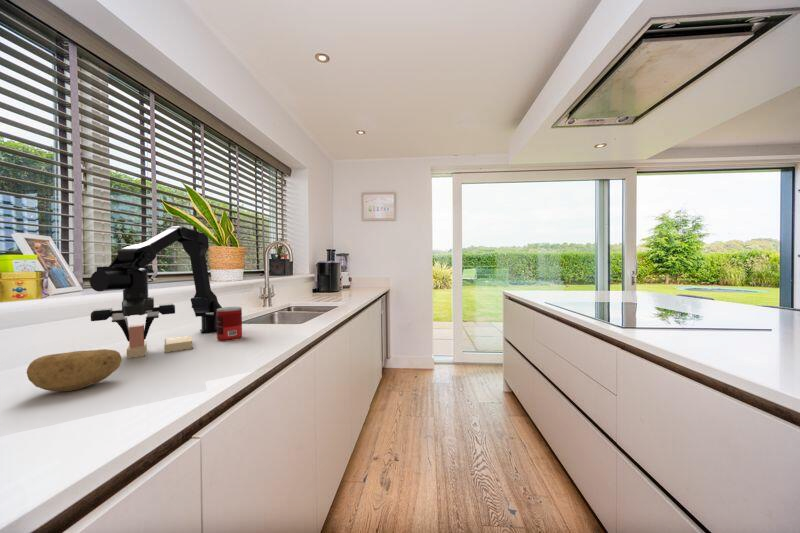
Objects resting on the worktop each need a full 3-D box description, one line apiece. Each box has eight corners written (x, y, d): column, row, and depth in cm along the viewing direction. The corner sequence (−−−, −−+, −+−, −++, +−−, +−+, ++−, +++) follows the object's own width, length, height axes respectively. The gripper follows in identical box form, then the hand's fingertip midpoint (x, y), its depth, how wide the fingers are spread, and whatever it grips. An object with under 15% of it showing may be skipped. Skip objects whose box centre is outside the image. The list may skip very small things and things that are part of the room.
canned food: (246, 336, 111) (246, 306, 111) (232, 341, 103) (232, 309, 103) (227, 335, 112) (226, 306, 112) (212, 341, 104) (211, 309, 104)
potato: (119, 386, 64) (118, 349, 64) (17, 405, 56) (16, 363, 56) (125, 374, 72) (125, 341, 72) (37, 389, 64) (36, 352, 64)
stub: (129, 351, 93) (129, 324, 93) (146, 348, 95) (146, 322, 95) (126, 358, 85) (126, 329, 85) (145, 355, 88) (144, 327, 88)
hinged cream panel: (164, 346, 98) (164, 338, 98) (190, 342, 103) (190, 334, 103) (164, 352, 90) (164, 344, 90) (192, 348, 95) (192, 340, 95)
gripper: (85, 292, 78) (87, 351, 78) (175, 287, 90) (176, 339, 90) (93, 290, 87) (95, 343, 87) (174, 286, 98) (175, 333, 99)
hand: (136, 340), depth 90 cm, fingers closed on stub, 3 cm apart
